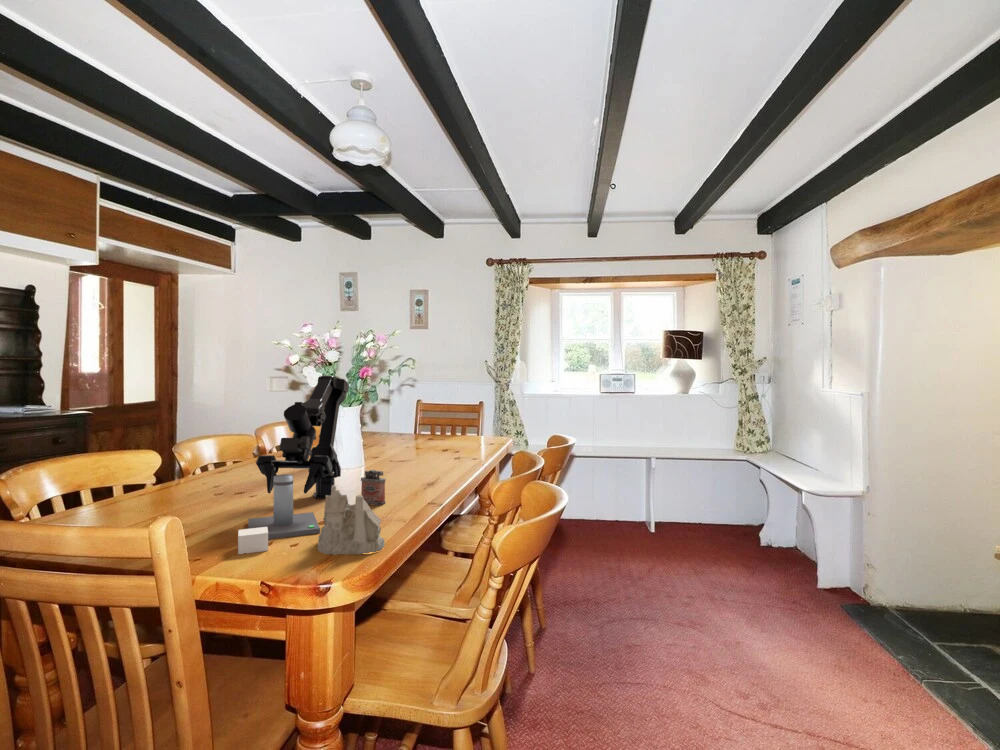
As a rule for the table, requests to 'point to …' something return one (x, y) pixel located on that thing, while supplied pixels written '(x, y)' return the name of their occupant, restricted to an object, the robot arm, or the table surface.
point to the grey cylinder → (283, 500)
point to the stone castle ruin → (349, 526)
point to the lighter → (373, 487)
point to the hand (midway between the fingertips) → (286, 492)
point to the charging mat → (273, 531)
